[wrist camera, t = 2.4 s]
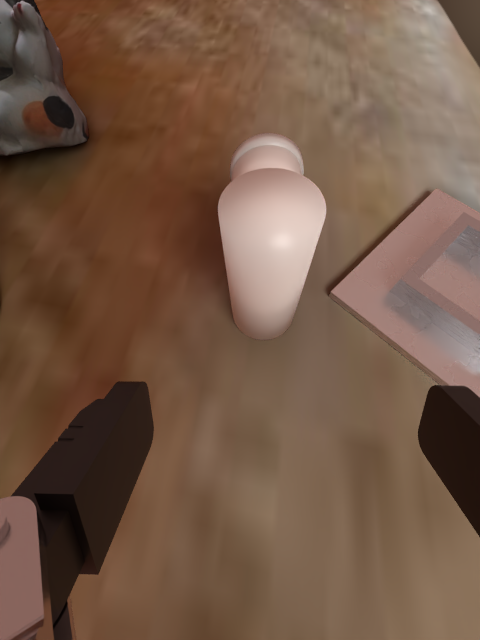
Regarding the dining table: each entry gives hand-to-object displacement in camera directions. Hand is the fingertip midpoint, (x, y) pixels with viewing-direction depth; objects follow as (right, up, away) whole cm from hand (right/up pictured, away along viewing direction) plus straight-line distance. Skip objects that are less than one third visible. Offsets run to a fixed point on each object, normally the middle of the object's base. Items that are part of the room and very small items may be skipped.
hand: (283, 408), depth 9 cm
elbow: (+1, +5, +18) cm, 18 cm away
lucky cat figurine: (-25, +24, +27) cm, 44 cm away
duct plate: (+18, +5, +17) cm, 25 cm away
